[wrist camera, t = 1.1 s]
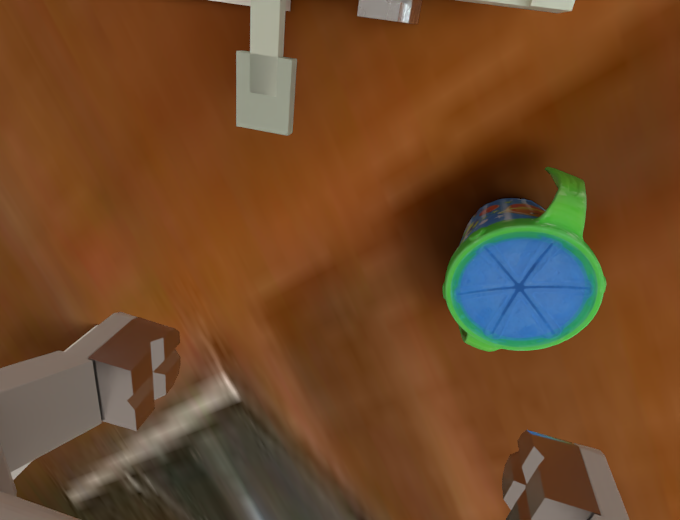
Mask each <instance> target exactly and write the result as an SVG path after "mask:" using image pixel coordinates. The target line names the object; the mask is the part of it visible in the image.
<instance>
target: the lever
mask: <svg viewBox="0 0 680 520" xmlns="http://www.w3.org/2000/svg"><path fill="white" fill-rule="evenodd" d="M457 1H465V2H473V3H481V4H489V5H497V6H505V7H513V8H520V9H528V10H536V11H544V12H552V13H563V12H568V11H572V8H573V5H574V2H575V0H457ZM285 10H286V0H251V12H250V51H243V50H242V51H236V126H239V127H244V128H249V129H255V130H260V131H266V132H271V133H276V134H282V135H287V136H288V135H290V134H291V133H292V132H293V116H294V100H295V84H296V68H297V59H294V58H288V57H283V52H284V31H285Z"/></svg>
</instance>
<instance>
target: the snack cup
mask: <svg viewBox="0 0 680 520" xmlns="http://www.w3.org/2000/svg"><path fill="white" fill-rule="evenodd" d="M545 170H546V171H547V172H548V173H549V174H551V176H552V178H553V180H554V182H555V184H556V186H557V187H558V191H557V193H556V195H555V197H554V200H553V201H552V203H551V204H550V206H549V207H548V208H547V210H545V209H543V208H542V207H541V206H539V205H538V204H536V203H535V202H533V201H531V200H526V199H518V198H504V199H499V200H496V201H494V202H491V203H487V204H485V205H484V206H483V207H481V208H480V209H479V210H478V211H477V213H476V214H475V215H474V216H473V217H472V218H471V220H470V221H469V223H468V224H467V227H466V229H465V231H464V234H463V237H462V239H461V242H460V245H459V247H458V248H457V249H456V251H455V252H454V254H453V256H452V257H451V259H450V262H449V264H448V267H447V271H446V275H445V282H444V284H443V286H442V289H443V298H444V299H445V300H446V302H447V306H448V309H449V311H450V313H451V315H452V316H453V318H454V319H455V321H456V322H457V323H458V325H459V329H460V333H461V336H462V339H463V341H464V342H465V343H467V344H469V345H471V346H473V347H475V348H478V349H481V350H484V351H488V352H491V351H496V350H498V349H501V348H502V349H508V350H515V351H517V350H519V351H527V350H538V349H543V348H547V347H550V346H553V345H557V344H559V343H561V342H563V341H566V340H568V339H570V338H571V337H573V336H574V335H576V334H577V333H579V332H580V331H581V330H582V329H584V328H585V327H586V326H587V325H588V324H589V323H590V322H591V320H592V319H593V317H594V316H595V315H596V313H597V311H598V309H599V307H600V305H601V302H602V298H603V293H604V292H605V288H606V278H605V277H604V276H603V272H602V269H601V267H600V264H599V262H598V260H597V258H596V256H595V255H594V253H593V251H592V250H591V249H590V247H589V246H588V245H587V244H586V243H585V242H584V240H583V236H582V235H583V229H584V224H585V215H586V191H585V183H584V181H583V180H582V179H580V178H577V177H575V176H573V175H570V174H568V173H565V172H563V171H560V170H558V169H555V168H551V167H546V168H545Z"/></svg>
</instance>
